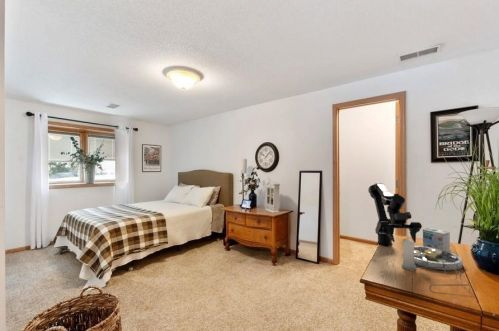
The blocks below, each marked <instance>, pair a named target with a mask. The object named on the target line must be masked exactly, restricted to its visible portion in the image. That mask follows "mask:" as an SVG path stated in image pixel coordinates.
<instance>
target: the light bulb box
mask: <svg viewBox="0 0 499 331" xmlns="http://www.w3.org/2000/svg"><path fill="white" fill-rule="evenodd" d="M450 233H451V232H450V231H448V230H447V231H446V230H442V229H437V228H433V227H427V228H426V227H425V228H423V229H422V246H424V247H433V248H437V249H441V250H446V251H449V252H451V234H450Z"/></svg>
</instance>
